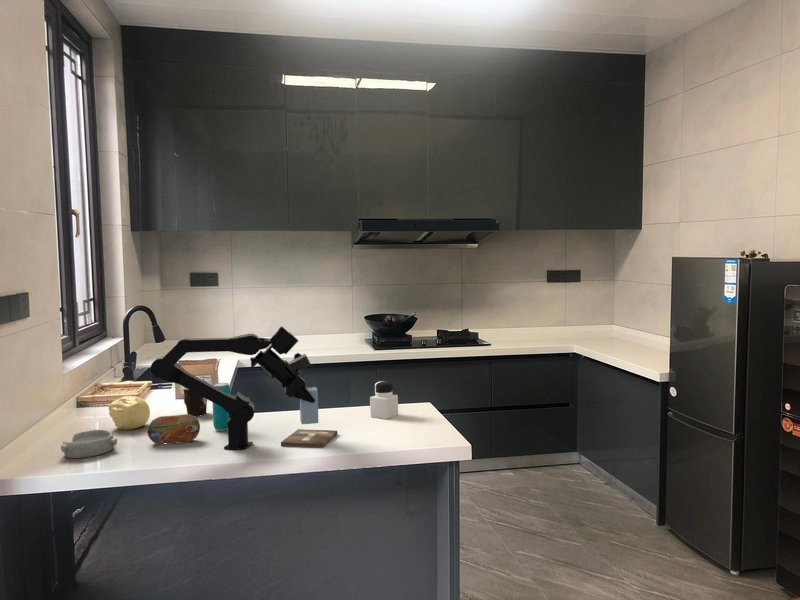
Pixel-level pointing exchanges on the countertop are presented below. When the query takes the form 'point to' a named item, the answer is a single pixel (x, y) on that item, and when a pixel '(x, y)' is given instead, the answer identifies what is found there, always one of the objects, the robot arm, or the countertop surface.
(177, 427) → the tin
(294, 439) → the board
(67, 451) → the dish
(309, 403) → the slate-blue block
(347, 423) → the countertop surface
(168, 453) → the countertop surface
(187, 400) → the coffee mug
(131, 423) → the sculpture
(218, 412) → the beverage can
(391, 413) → the medicine bottle
